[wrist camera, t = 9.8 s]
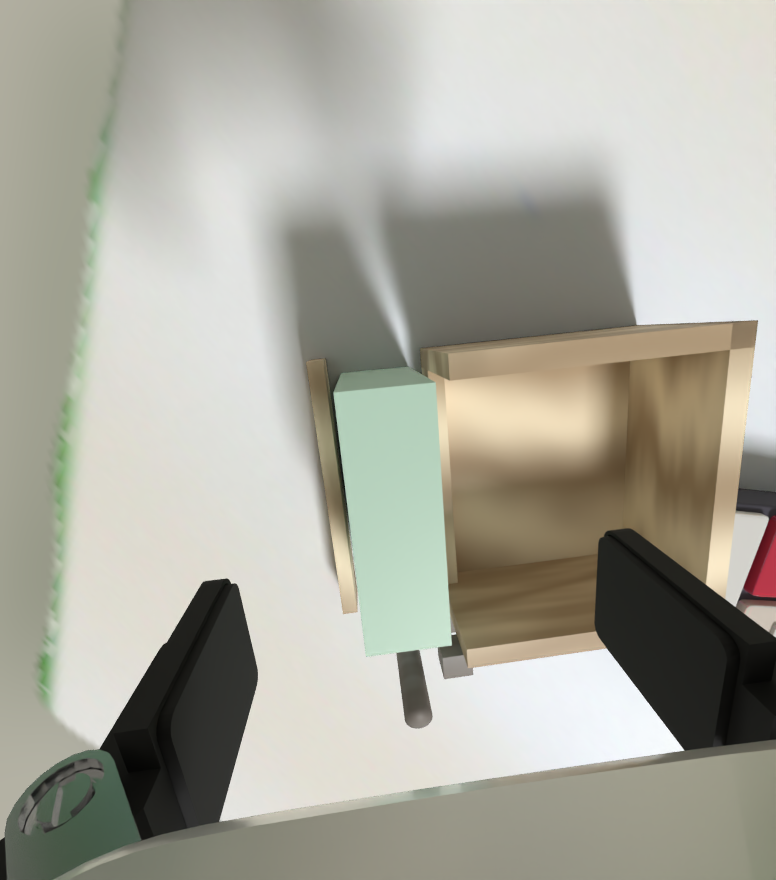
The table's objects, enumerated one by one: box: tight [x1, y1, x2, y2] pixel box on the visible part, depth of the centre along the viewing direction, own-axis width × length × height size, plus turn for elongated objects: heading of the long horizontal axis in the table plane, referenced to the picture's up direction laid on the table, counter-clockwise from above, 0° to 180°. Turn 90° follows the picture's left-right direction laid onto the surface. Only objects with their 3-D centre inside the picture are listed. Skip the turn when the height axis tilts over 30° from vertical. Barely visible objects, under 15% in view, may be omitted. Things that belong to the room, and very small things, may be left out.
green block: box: [333, 366, 452, 657], centre depth 20 cm, size 12×4×8 cm, turn 5°
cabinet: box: [306, 320, 758, 728], centre depth 20 cm, size 16×18×8 cm
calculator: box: [725, 489, 776, 637], centre depth 26 cm, size 11×4×15 cm
